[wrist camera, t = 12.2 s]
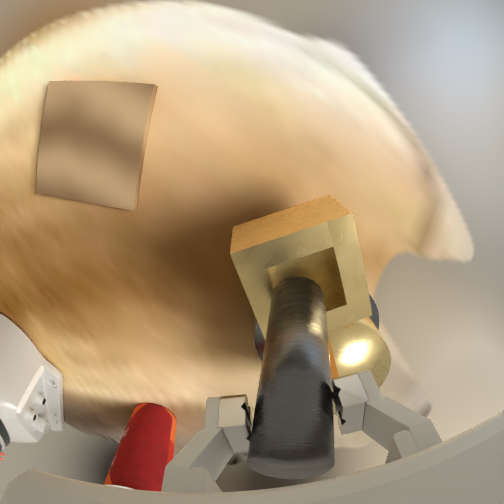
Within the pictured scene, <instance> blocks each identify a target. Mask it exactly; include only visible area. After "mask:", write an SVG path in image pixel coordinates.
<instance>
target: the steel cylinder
mask: <svg viewBox="0 0 504 504" xmlns="http://www.w3.org/2000/svg"><path fill="white" fill-rule="evenodd" d="M247 465H248V466H249V467H250V468H251V469H252V470H254V471H255V472H257V473H260V474H263V475H266V476H269V477H274V478H282V479H302V478H309V477H314V476H318V475H321V474H323V473H326V472H327V471H329V470H330V469H331V468H332V467H333V466H334V424H333V401H332V383H331V368H330V354H329V341H328V330H327V319H326V309H325V299H324V293H323V290H322V288H321V287H320V286H319V284H317V283H316V282H315V281H313V280H312V279H309V278H306V277H298V276H297V277H290V278H287V279H285V280H283V281H281V282H280V283H278V284H277V285H276V287H275V288H274V290H273V292H272V297H271V304H270V311H269V319H268V326H267V333H266V340H265V347H264V354H263V360H262V367H261V374H260V381H259V387H258V394H257V400H256V406H255V413H254V419H253V425H252V431H251V437H250V444H249V450H248V455H247Z"/></svg>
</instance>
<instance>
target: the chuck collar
mask: <svg viewBox="0 0 504 504" xmlns="http://www.w3.org/2000/svg"><path fill="white" fill-rule="evenodd" d="M230 255H231V258H232V260H233V263H234V265H235V268H236V270H237V273H238V275H239V278H240V280H241V283H242V285H243V287H244V290H245V292H246V295H247V297H248V300H249V302H250V305H251V307H252V310H253V312H254V314H255V317H256V319H257V322H258V324H259V326H260V329H261V331H262V334H263V336H264V339H265V340H266V333H267V326H268V319H269V311H270V304H271V297H272V292H273V290H274V288H275V287H276V285H277V284H278V283H280V282H281V281H283V280H285V279H287V278H290V277H297V276H298V277H306V278H309V279H312V280H313V281H315V282H316V283H317V284H319V286H320V287H321V288H322V290H323V293H324V299H325V309H326V319H327V330H328V341H329V354H330V368H331V383H332V379H333V378H337V377H341V376H345V375H349V374H353V373H357V372H361V371H365V370H370V372H371V374H372V376H373V378H374V380H375V382H376V384H377V386H378V388H379V387H380V386H381V385H382V384H383V382H384V380H385V379H386V377H387V375H388V372H389V369H390V364H391V356H390V351H389V349H388V346H387V345H386V343H385V341H384V340H383V338H382V336H381V335H380V333H379V331H378V330H377V328H376V326H375V325H374V323H373V321H372V320H371V318H370V316H372V310H371V304H370V298H369V292H368V286H367V281H366V275H365V270H364V265H363V260H362V255H361V250H360V245H359V240H358V236H357V231H356V227H355V222H354V218H353V214H352V213H351V212H350V211H349V210H347V209H346V208H345V207H344V206H342V205H341V204H340V203H339V202H337V201H336V200H335V199H334V198H332V197H331V196H330V195H328V196H325V197H322V198H319V199H316V200H312V201H309V202H306V203H303V204H300V205H297V206H294V207H291V208H288V209H285V210H282V211H279V212H276V213H273V214H270V215H267V216H264V217H261V218H258V219H255V220H252V221H249V222H246V223H243V224H240V225H237V226H234V227H233V232H232V240H231V249H230ZM332 392H333V388H332ZM333 414H335V411H334V407H333Z"/></svg>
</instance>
